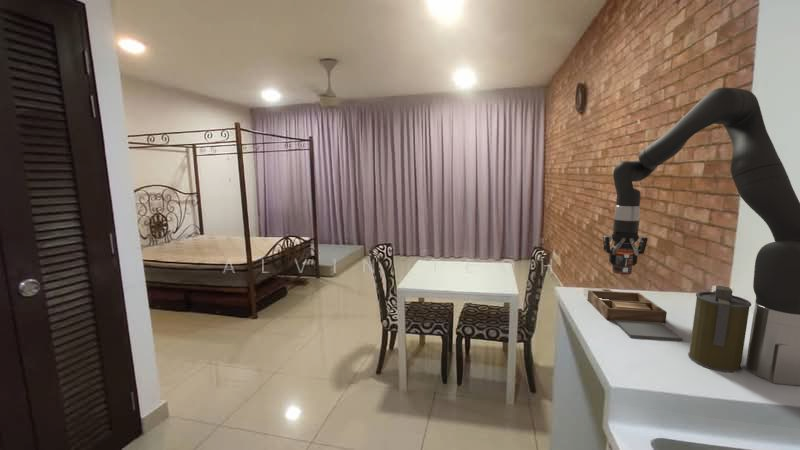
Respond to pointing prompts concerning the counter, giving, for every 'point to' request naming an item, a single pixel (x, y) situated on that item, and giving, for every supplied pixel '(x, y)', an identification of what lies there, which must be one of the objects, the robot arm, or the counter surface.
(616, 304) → the upper offcut
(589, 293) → the walnut tray
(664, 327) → the charcoal mat
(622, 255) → the supplement bottle
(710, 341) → the canister
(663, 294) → the counter surface
